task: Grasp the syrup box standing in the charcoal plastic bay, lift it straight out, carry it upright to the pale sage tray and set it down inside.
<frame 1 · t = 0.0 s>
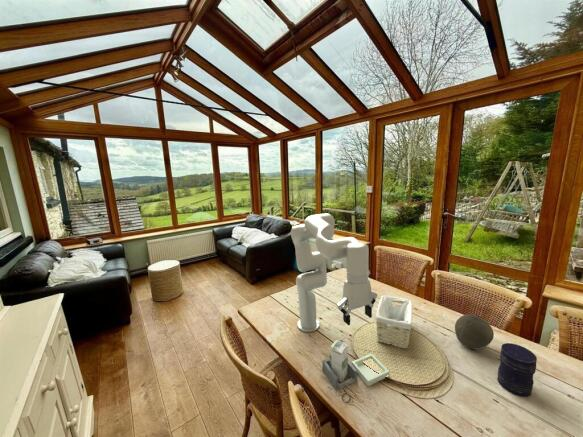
hand: (357, 319, 87), 31 cm above the table, fingers open, 9 cm apart
grey oval rock: (471, 346, 112), on the table
syrup box: (339, 375, 101), resting in bay
tray: (369, 371, 101), on the table
storage basket: (394, 333, 124), on the table
storage jar: (513, 386, 91), on the table
bay: (339, 375, 100), on the table
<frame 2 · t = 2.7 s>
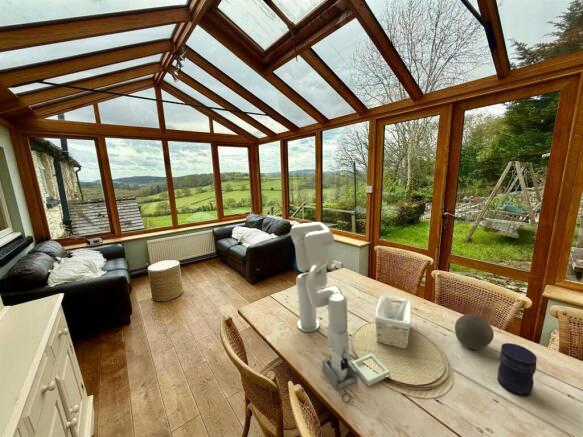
hand: (338, 361, 99), 7 cm above the table, fingers closed on syrup box, 7 cm apart
syrup box: (339, 375, 101), resting in bay, touching gripper
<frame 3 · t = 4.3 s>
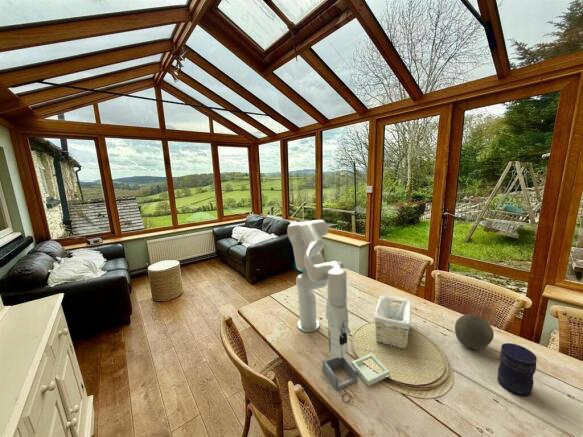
hand: (337, 336, 98), 18 cm above the table, fingers closed on syrup box, 7 cm apart
syrup box: (338, 352, 99), point 11 cm above the table, touching gripper
everything else where it was.
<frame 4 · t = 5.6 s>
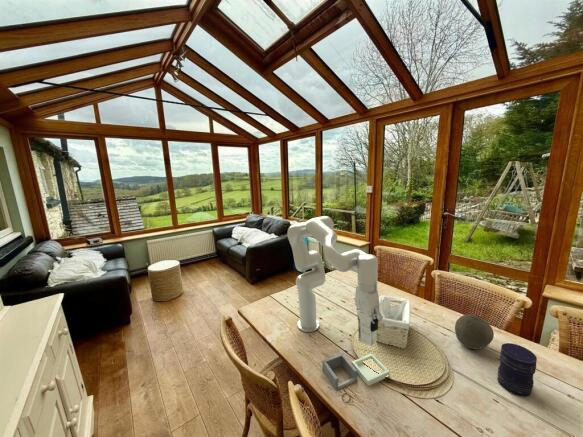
hand: (367, 324, 97), 23 cm above the table, fingers closed on syrup box, 7 cm apart
syrup box: (368, 340, 98), point 16 cm above the table, touching gripper
everything else where it was.
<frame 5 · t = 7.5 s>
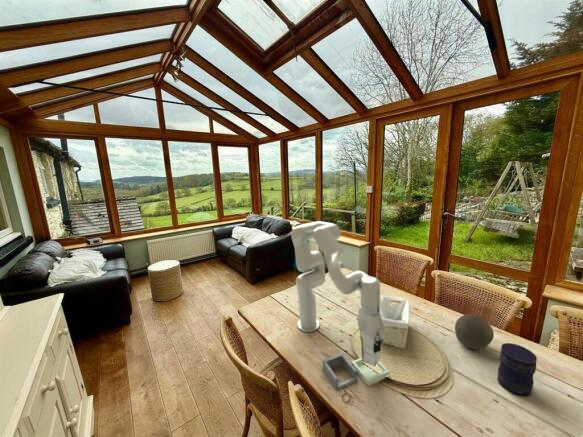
hand: (370, 344, 99), 13 cm above the table, fingers closed on syrup box, 7 cm apart
syrup box: (371, 360, 100), point 6 cm above the table, touching gripper
when the fingers open (9 cm above the table, at t = 8.9 s): syrup box drops 1 cm, resting on tray.
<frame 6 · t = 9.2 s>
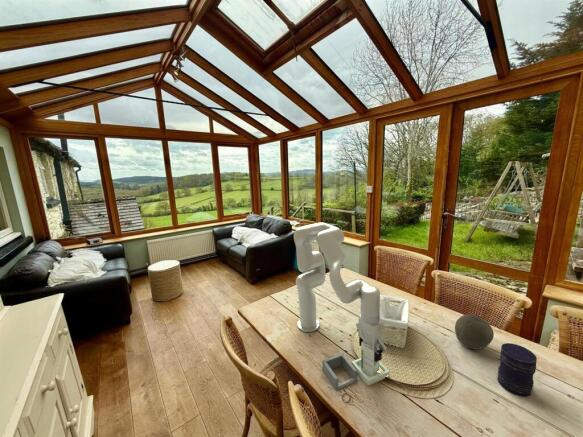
hand: (370, 352, 100), 9 cm above the table, fingers open, 9 cm apart
syrup box: (370, 370, 101), resting on tray
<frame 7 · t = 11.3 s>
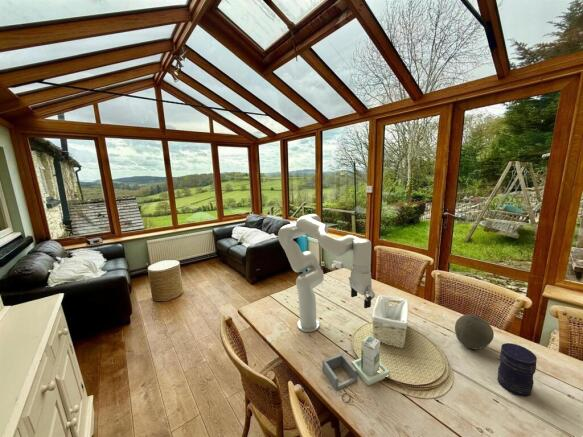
hand: (360, 301, 107), 27 cm above the table, fingers open, 9 cm apart
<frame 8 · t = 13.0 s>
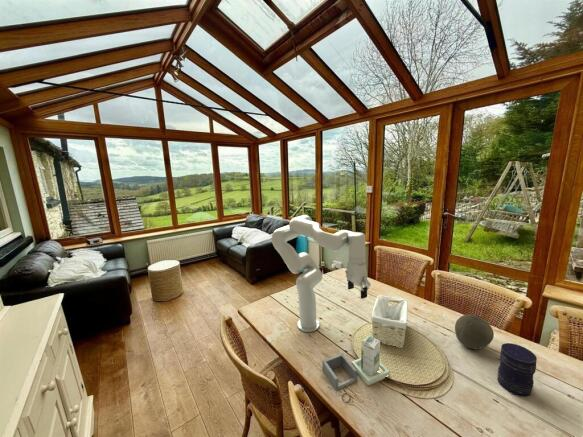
hand: (357, 293, 112), 28 cm above the table, fingers open, 9 cm apart
at the end: syrup box inside the target area on the tray (0.2 cm from its centre), point 0.4 cm above the tray's base; syrup box tilted 0°; the gripper is holding nothing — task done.
